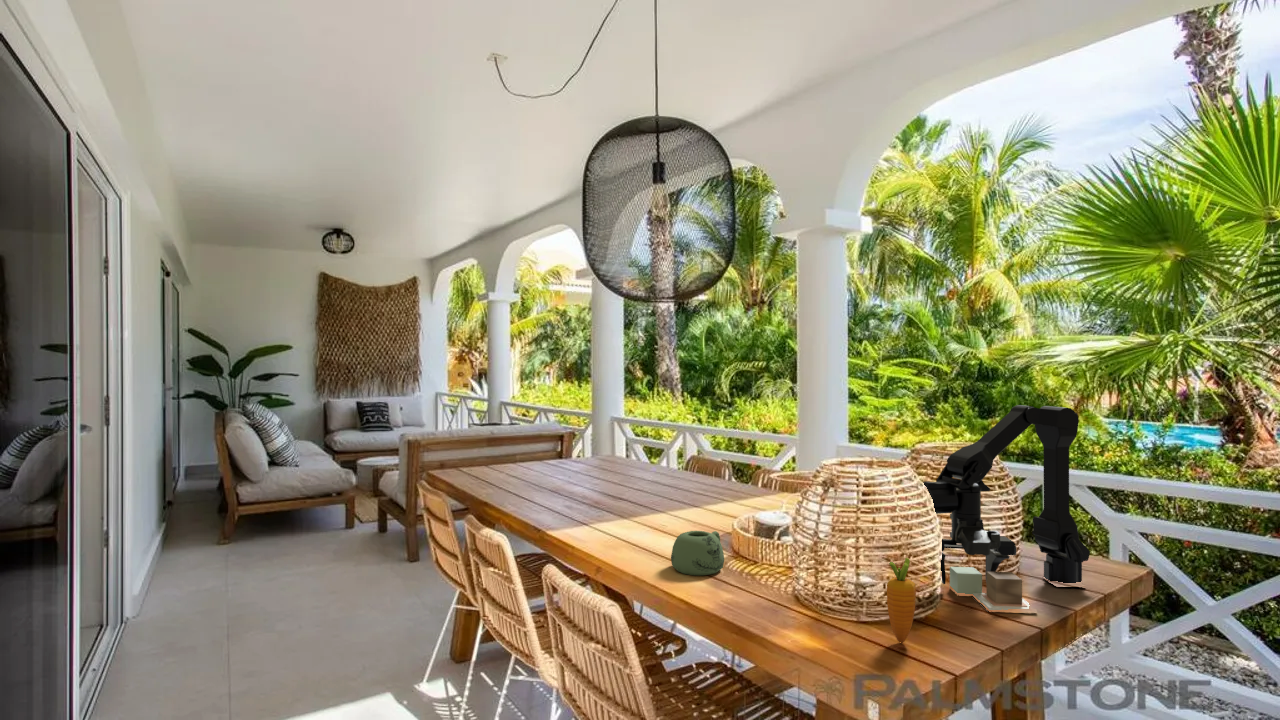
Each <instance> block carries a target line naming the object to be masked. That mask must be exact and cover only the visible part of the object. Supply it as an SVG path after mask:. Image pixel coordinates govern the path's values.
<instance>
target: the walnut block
mask: <svg viewBox="0 0 1280 720" xmlns="http://www.w3.org/2000/svg"><path fill="white" fill-rule="evenodd" d="M985 587H986V595H987V596H988V597H989V598H990V599H991V600H992V601H994V602H995V603H996V604H1022V598H1023V579H1022V578H1021V577H1019V576H1017V574H1015V573H1014V572H1012V571H996V572H988V571H987V584H986V586H985Z"/></svg>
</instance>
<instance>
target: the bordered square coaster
mask: <svg viewBox="0 0 1280 720" xmlns="http://www.w3.org/2000/svg"><path fill="white" fill-rule="evenodd" d="M973 595H974V596H975V597H976V598H977V599H978V600H980V602H981V603H983V604H984V605H985V606H986V607H987V608H988V609H989V610H1002V609H1003V610H1008V609H1029V606H1030V605H1029V602H1028V601H1027V600H1026V599H1025V598H1023V597H1022V604H996V603H995V602H994V601H992V600H991V599H990V598H989V597H988V596H987V595H986V593H985V592H982V593H973Z"/></svg>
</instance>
